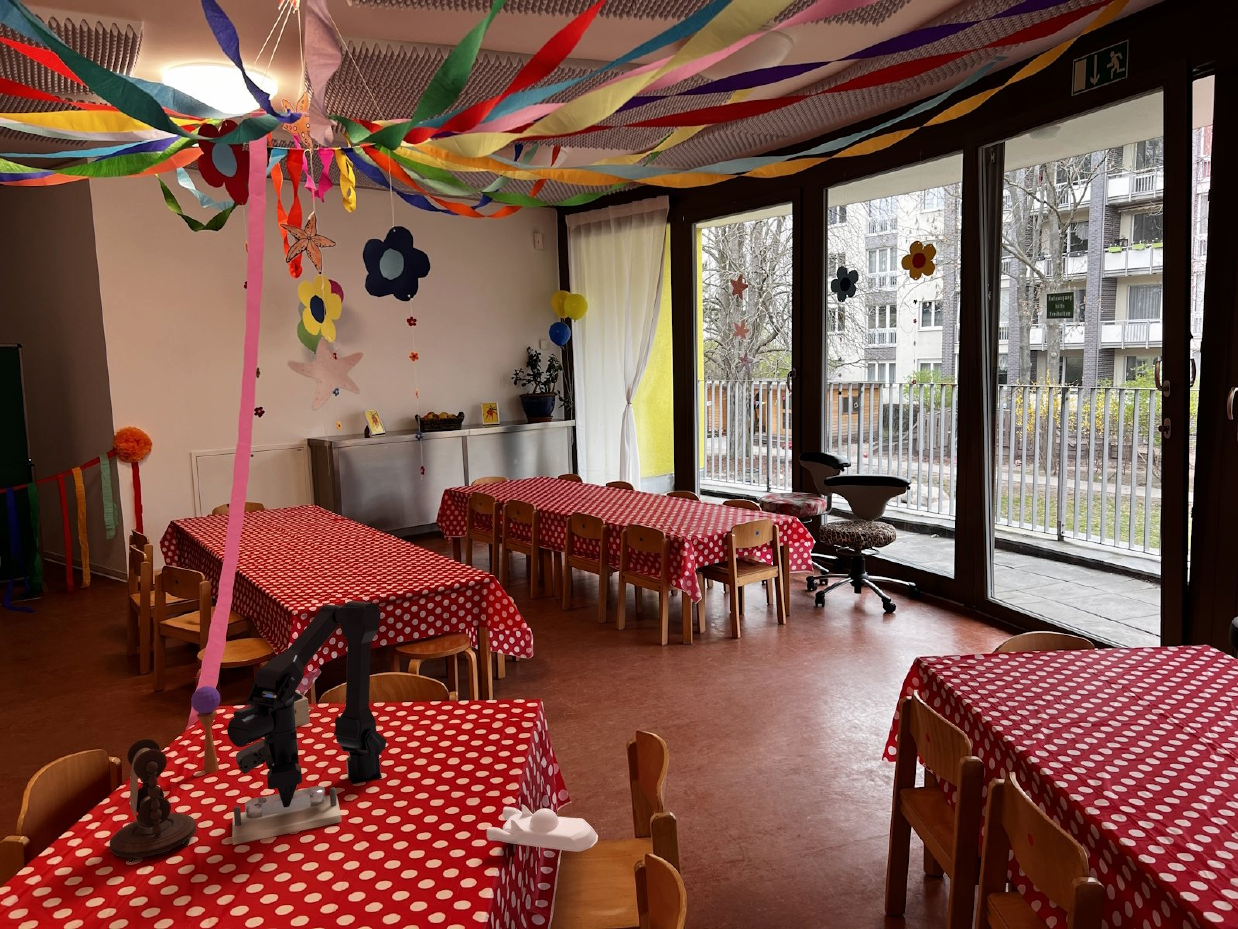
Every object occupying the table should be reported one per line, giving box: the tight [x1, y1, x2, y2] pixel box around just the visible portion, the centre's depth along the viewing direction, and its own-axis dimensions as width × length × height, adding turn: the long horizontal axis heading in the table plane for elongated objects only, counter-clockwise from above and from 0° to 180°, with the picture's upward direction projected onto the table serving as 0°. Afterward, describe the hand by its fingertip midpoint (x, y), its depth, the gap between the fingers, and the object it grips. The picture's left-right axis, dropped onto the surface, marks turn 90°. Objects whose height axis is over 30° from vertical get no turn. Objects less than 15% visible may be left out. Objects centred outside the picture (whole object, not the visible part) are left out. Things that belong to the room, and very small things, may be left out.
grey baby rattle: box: [244, 785, 326, 819], centre depth 179 cm, size 15×4×2 cm, turn 112°
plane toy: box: [486, 804, 599, 853], centre depth 169 cm, size 10×20×6 cm, turn 76°
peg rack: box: [231, 787, 342, 845], centre depth 179 cm, size 20×10×5 cm, turn 113°
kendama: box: [190, 685, 221, 773], centre depth 203 cm, size 6×6×20 cm
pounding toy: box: [264, 690, 315, 728], centre depth 235 cm, size 18×17×8 cm
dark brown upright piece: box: [109, 738, 197, 863], centre depth 171 cm, size 15×15×20 cm
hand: (286, 802), depth 179 cm, fingers closed on grey baby rattle, 3 cm apart
